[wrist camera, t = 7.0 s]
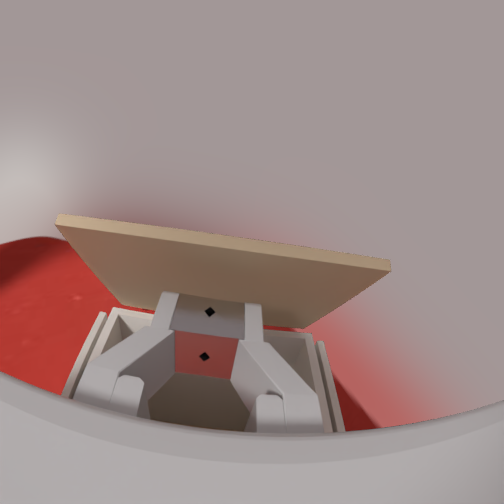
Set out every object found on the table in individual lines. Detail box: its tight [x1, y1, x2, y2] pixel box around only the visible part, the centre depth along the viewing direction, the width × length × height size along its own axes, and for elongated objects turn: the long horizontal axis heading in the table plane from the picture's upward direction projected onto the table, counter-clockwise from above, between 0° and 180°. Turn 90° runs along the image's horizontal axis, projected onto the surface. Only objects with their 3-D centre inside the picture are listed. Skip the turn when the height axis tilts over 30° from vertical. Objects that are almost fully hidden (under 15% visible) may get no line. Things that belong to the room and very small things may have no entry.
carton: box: [61, 307, 346, 433], centre depth 16 cm, size 13×11×13 cm
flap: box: [55, 214, 391, 329], centre depth 13 cm, size 11×10×1 cm
